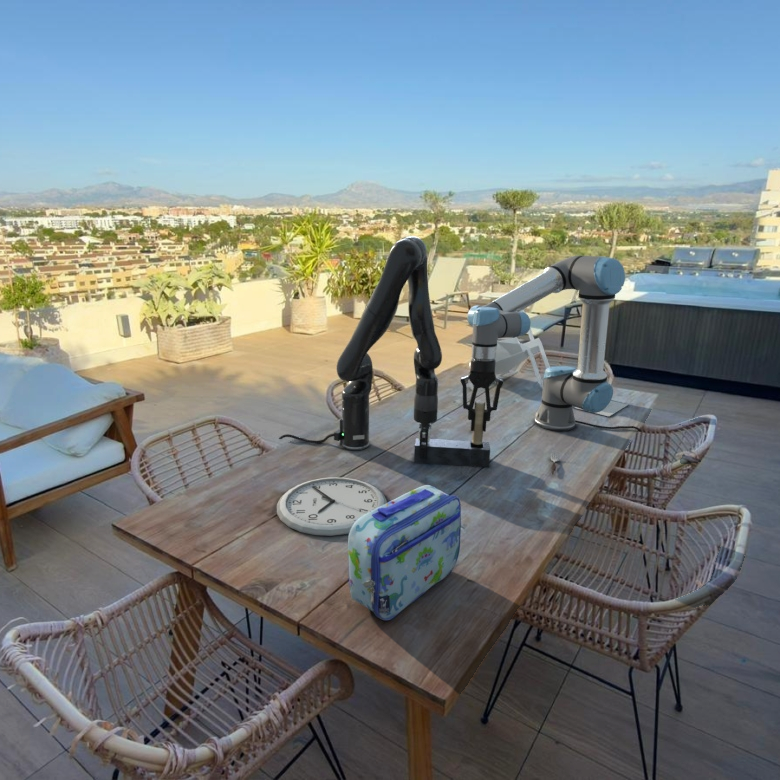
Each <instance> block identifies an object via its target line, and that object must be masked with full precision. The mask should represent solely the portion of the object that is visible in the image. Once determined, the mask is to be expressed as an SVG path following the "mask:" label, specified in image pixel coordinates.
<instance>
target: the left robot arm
mask: <svg viewBox="0 0 780 780" xmlns="http://www.w3.org/2000/svg"><path fill="white" fill-rule="evenodd" d="M428 278H429V277H428V250H427V246H426V244H425V242H424V241H423V240H422V239H421V238H420V237H418V236H415V235H414V236H413V235H412V236H406V237H404V238H402V239H400V240H398V241H396V242H395V243H393V245H392V246H391V248H390V250H389V253H388V256H387V259H386V261H385V265H384V267H383V271H382V273H381V276H380V278H379V280H378V283H377V284H376V285H375V288H374V290H373V292H372V293H371V295H370V298H369V300H368V301H367V303H366V305H365V308H364V310H363V312H362V314H361V316H360V319H359V321H358V323H357V325H356V327H355V330H354V331H353V333H352V336H351V338H349V339H350V340H349V341H348V343H347V344H346V346H345V348H343V351H342V353H341V355H340V356H339V358H338V359H337V362H336V375H337V376H338V377H339V379H340V380H341V381H343V382H347V385H346V386H345V387H344V388H343V389H342V391H341V418H340V419H339V429H338V430H336V431H334V432H333V433H330V434H328V435H326V436H325V437H324V438H323V439H319V440H315V439H314V440H312V439H307V438H305V437H300V438H299V436H296V435H294V434H288V433H286V434H283V435H281V436H279V438H278V440H283V439H285V438H292V439H294V440H298V441H302V442H305V443H309V444H321V443H324V442H326V441H328V440H329V439H330V438H332V437H333V441H336V442H339V446H342V447H343V448H344V449H345V450H349V451H362V450H365V449H367V448H369V446H370V394H371V391H372V388H373V387H372V386H373V373H374V372H373V371H374V370H373V360H372V358H371V356H370V354H369V353H368V352H369V351H370V349H371V348H372V347H373V346H374V345H375V344H376V343H377V342H378V341H379V340H380V339H381V338H382V337H383V336H384V334H386V332H387V331H388V329H389V328H390V326H391V324H392V322H393V320H394V318H395V316H396V314H397V312H398V308H399V302H400V299H401V293H402V291H403V289H404V287H405V285H406V283H407V284H408V285H407V286H408V304H407V305H408V309H407V310H408V311H407V312H408V320H409V325H410V330H411V334H412V337H413V338H414V340H415V341H416V344H417V346H416V348H415V350H414V352H413V368H414V374H415V393H414V401H413V420H414V421H415V422H416V423H419V424H418V438H419V441H420V446H419V448H420V459H427V448H428V442H429V440H430V439H431V433H432V424H434V423H436V422H437V421H438V408H439V407H438V406H439V396H438V391H439V381H438V380H439V378H438V376H437V375H436V371H435V370H436V369H438V368H439V366H440V365H441V364H442V361H443V351H442V348H441V345H440V342H439V339H438V336H437V333H436V331H435V329H436V328H435V323H434V318H433V311H432V307H431V306H432V305H431V300H430V299H431V298H430V291H429V290H430V289H429V279H428ZM422 443H426V445H422Z"/></svg>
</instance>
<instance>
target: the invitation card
mask: <svg viewBox="0 0 780 780" xmlns="http://www.w3.org/2000/svg"><path fill="white" fill-rule="evenodd" d="M628 406H629V404H627V403H623V402H618V401H614V400H611V401H610V403H609V404H608V405H607V407H606V408H605V409H603V410H602V411H600V412H597V413H595V414H596V415H600V416H604V417H608V418H609V417H611V416H613V415H614V414H616V413H617V412H619V411H621V410H623V409H624V408H626V407H628ZM573 409H575V410H581V411H584V410H583V409H580V408H578V407H575V406H573ZM587 413H590V412H589V411H587Z"/></svg>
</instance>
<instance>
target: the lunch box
mask: <svg viewBox="0 0 780 780" xmlns="http://www.w3.org/2000/svg"><path fill="white" fill-rule="evenodd" d="M461 520H462V506H461V500H460V498H459V497H458V496H457V495H454V494H450V495H449V494H448V493H445V492H444V491H442V490H440V489H438V488H436V487H435V486H432V485H430V484H425V485H420V486H418V487H416V488H415V489H412V490H410V491H408V492H406V493H404V494H402V495H400V496H398V497H396V498H394V499H392V500H390V501H387V503H386V504H384V505H382V506H380V507H378V508H376V509H375V510H373V511H371V512H369V513H366V514H365V515H363V516H361V517H359V518H358V519H357V520H356V521H355V523H354V524H353V526H352V528H351V530H350V533H349V534H348V536H347V537H348V538H347V557H348V559H347V560H348V586H349V592H350V597H351V599H352V600H353V601H355V602H356V603H358V604H360V605H362V606H364V607H365V608H366V609H368V610H369V611H371V612H372V613H374V615H375V616H376V617H377V618H379V619H380V620H383V621H390V620H393V619H394V618H395V617H397V616H398V615H399V614H400V613H401V612H402V611H403V610H405V609H406V608H407V607H408V606H409V605H411V604H412V603H414V602H415V601H416V600H417V599H419V598H420V597H421V596H422V595H424V594H425V593H426V592H427V591H429V589H431V588H432V587H433V586H435V585H436V584H438V583H439V582H440V581H442V580H444V579H445V578H446V577H448V575H450V573H451V572H452V571H453V570H454V568H455V566H456V564H457V562H458V559H459V555H460V552H461V551H460V549H461V535H462V534H461V533H462V521H461Z"/></svg>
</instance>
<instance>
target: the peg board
mask: <svg viewBox="0 0 780 780" xmlns="http://www.w3.org/2000/svg"><path fill="white" fill-rule="evenodd" d="M422 445H426V443H422ZM419 446H420V441H419V437H416V438H415V441H414V451H413V452H414V453H413V454H414V455H413V463H415V464H429V465H445V466H463V467H480V468H489V467H490V458H491V446H490V442H488V441H482V444H479V445H477V444H473V443H472V440H455V439H439V438H430V440H429V442H428V448H427V459H420V448H419Z"/></svg>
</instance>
